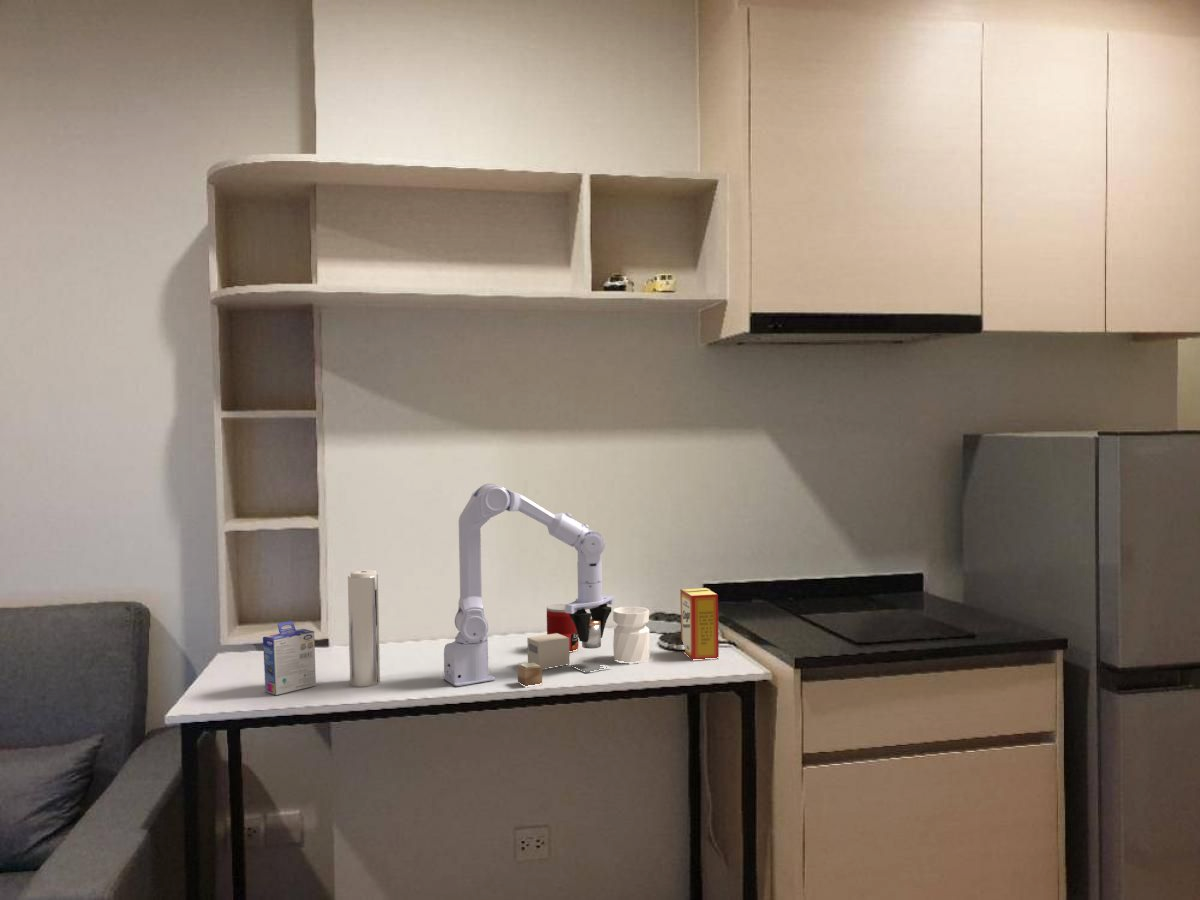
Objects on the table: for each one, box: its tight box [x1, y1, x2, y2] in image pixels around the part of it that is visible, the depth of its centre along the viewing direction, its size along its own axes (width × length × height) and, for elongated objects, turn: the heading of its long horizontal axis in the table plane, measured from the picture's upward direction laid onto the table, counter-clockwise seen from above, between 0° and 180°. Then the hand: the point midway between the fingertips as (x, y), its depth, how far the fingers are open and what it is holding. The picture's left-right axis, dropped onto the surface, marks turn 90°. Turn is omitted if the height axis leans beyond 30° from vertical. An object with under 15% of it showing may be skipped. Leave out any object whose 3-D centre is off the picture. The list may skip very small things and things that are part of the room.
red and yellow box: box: [679, 587, 720, 661], centre depth 218 cm, size 10×6×16 cm
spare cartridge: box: [581, 618, 602, 649], centre depth 208 cm, size 4×4×6 cm
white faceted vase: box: [612, 606, 651, 662], centre depth 215 cm, size 9×9×12 cm
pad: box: [570, 660, 607, 672], centre depth 208 cm, size 7×7×1 cm
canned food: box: [546, 603, 579, 651], centre depth 226 cm, size 8×8×11 cm
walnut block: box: [517, 662, 543, 686], centre depth 196 cm, size 4×4×4 cm
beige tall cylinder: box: [347, 569, 381, 688], centre depth 198 cm, size 6×6×25 cm
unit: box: [526, 633, 570, 670], centre depth 211 cm, size 8×6×6 cm
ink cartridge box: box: [262, 620, 317, 696], centre depth 195 cm, size 10×6×14 cm, turn 138°
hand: (590, 639), depth 208 cm, fingers closed on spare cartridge, 4 cm apart
